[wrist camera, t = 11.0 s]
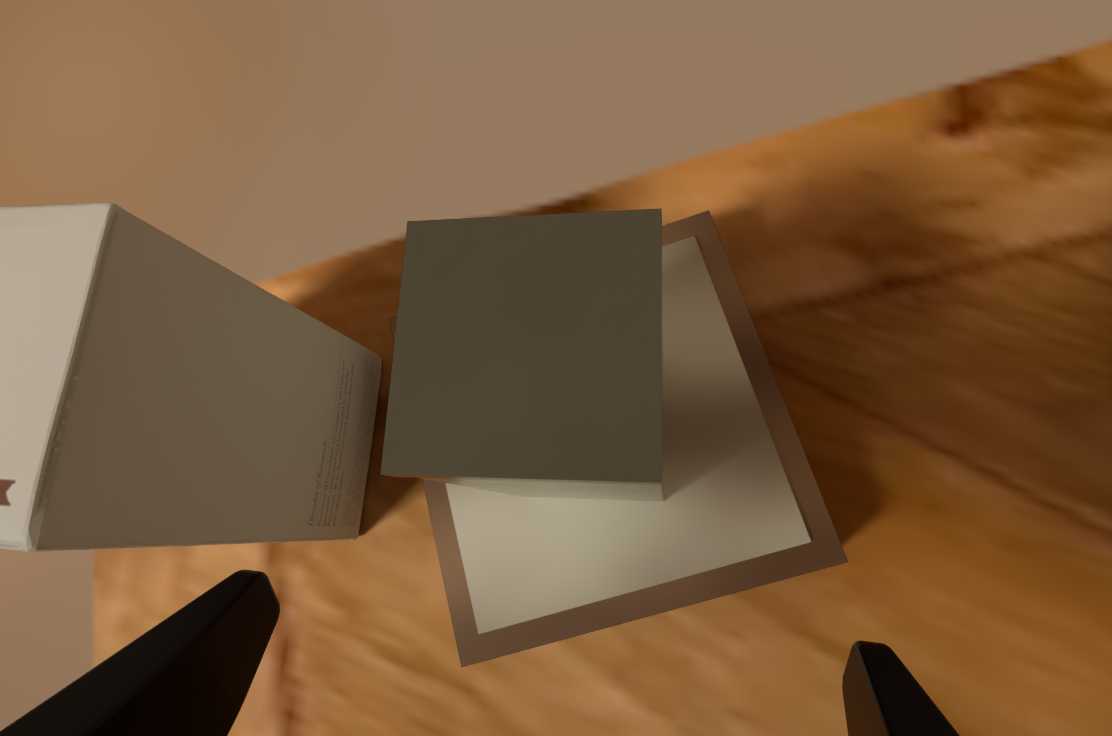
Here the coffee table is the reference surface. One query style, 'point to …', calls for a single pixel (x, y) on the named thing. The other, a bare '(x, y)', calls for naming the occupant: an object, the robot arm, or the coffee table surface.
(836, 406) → the coffee table surface
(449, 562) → the brown framed square mirror
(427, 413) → the olive grey square block
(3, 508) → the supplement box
